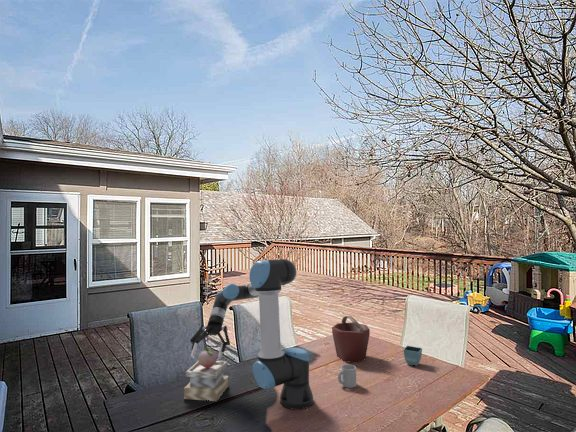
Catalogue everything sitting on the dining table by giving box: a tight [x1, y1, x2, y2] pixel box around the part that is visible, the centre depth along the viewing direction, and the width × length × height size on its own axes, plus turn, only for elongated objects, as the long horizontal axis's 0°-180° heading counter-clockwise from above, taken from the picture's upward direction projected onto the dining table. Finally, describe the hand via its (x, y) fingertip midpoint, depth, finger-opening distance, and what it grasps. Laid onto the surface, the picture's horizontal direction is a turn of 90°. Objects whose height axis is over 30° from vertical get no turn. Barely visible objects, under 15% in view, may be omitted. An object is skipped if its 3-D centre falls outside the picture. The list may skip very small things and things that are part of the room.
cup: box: [337, 363, 357, 389], centre depth 173 cm, size 7×10×9 cm
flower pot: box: [403, 345, 423, 367], centre depth 201 cm, size 9×9×9 cm
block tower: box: [183, 360, 229, 402], centre depth 166 cm, size 16×16×12 cm
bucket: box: [331, 315, 371, 363], centre depth 213 cm, size 24×22×25 cm
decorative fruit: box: [197, 347, 218, 369], centre depth 167 cm, size 9×8×10 cm
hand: (205, 357), depth 165 cm, fingers open, 13 cm apart
